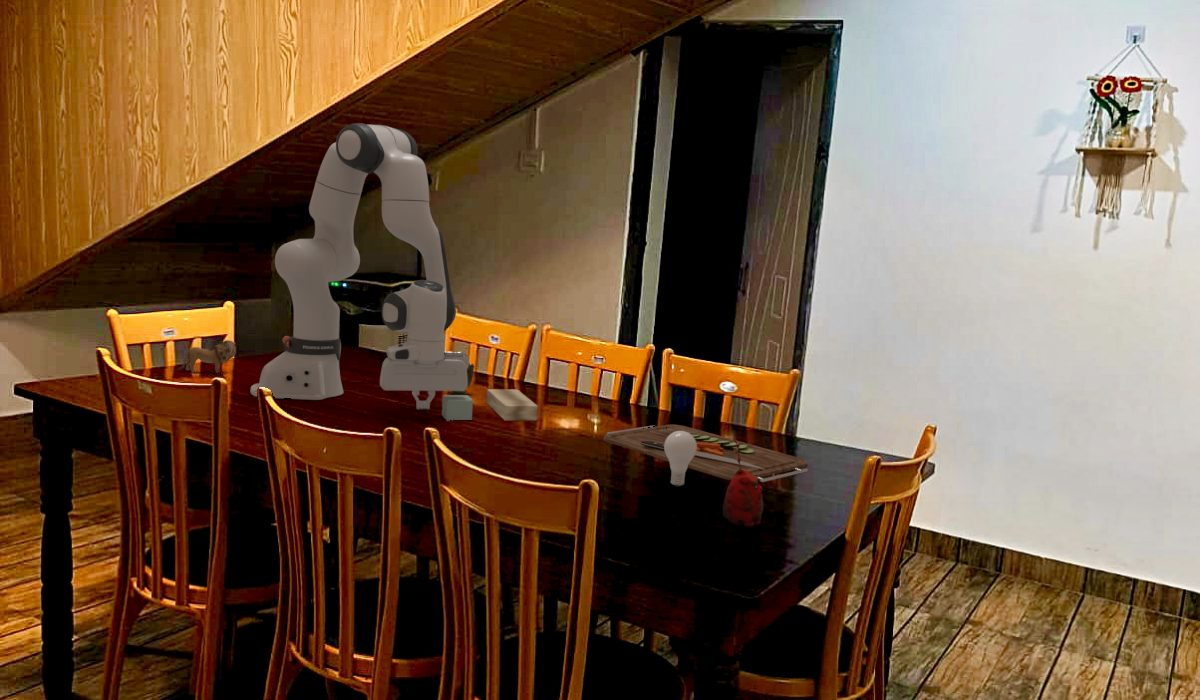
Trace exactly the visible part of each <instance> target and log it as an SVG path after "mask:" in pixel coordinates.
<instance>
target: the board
mask: <svg viewBox="0 0 1200 700" xmlns="http://www.w3.org/2000/svg"><path fill="white" fill-rule="evenodd" d="M485 401H486V404H487V405H488V406H489V407H490V408H491V409H492V410H493V411H494V412H495V413H496V414H498V415H499V417H500V418H501V419H502V420H504V421H538V410H539V409H538V407H539V406H538V404H536V403H535V402H533V401H532V400H531V399H530V398H529V397H527V396H526V395H525V394H523V393H522V392H521V391H520V390H519V389H518V388H517V389H513V388H512V389H511V388H510V389H505V388H504V389H502V388H501V389H499V388H497V389H496V388H495V389H493V388H488V389H487V388H486V400H485Z"/></svg>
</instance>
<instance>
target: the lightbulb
mask: <svg viewBox="0 0 1200 700" xmlns="http://www.w3.org/2000/svg"><path fill="white" fill-rule="evenodd" d="M664 451H665V454H666V456H667V458H668V460H669V462H668V463H669V467H670V471H671V472H670V473H671V475H670V483H671V484H672V485H673V486H674V487H676V488H677V487H678V488H679V487H681V486H683V485H685V477H686V472H687V470H688V464H689V463H690V461H691V460H692V459H693V457H694V456H695V454H696V451H697V444H696V441H695V439H694V437H693V436H692V435H691V434H690V433H688V432H685V431H675V432H673V433H671V434H670V435H669V436H668V437H667V439H666V440H665V444H664Z"/></svg>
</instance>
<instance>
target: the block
mask: <svg viewBox="0 0 1200 700" xmlns="http://www.w3.org/2000/svg"><path fill="white" fill-rule="evenodd" d="M473 405H474V400H473V399H472V398H471V397H470V396H469V395H467V394H466V395H465V394H462V395H457V394H454V395H452V394H443V395H442V407H441V408H442V409H441V416H442V417H443V418H444V420H445V419H446V420H445V421H446V422H453V420H473V407H474V406H473ZM450 420H452V421H450Z"/></svg>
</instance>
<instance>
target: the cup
mask: <svg viewBox="0 0 1200 700" xmlns="http://www.w3.org/2000/svg"><path fill="white" fill-rule="evenodd" d="M474 371H475V364H474V363H472V364H470V362H469V367H468V369H467V380H468V386H467V388H468V387H470V386H471V384H472V380H473V377H474ZM467 388H466V389H465V390H464V391H451V392H452V394H454V395H465V394H466V392H467Z"/></svg>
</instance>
